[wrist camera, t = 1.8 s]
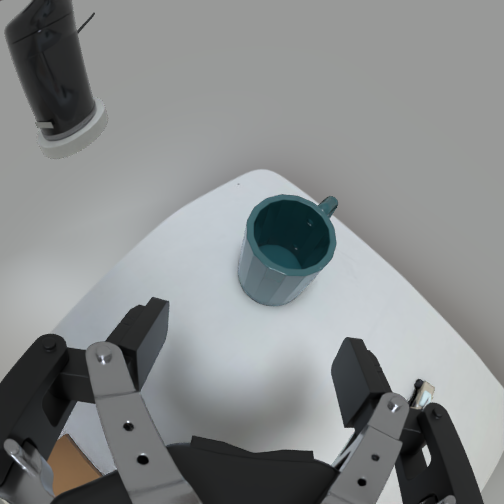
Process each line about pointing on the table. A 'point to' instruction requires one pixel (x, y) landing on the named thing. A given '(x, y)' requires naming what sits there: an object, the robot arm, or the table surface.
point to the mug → (285, 247)
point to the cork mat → (70, 466)
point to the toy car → (422, 395)
